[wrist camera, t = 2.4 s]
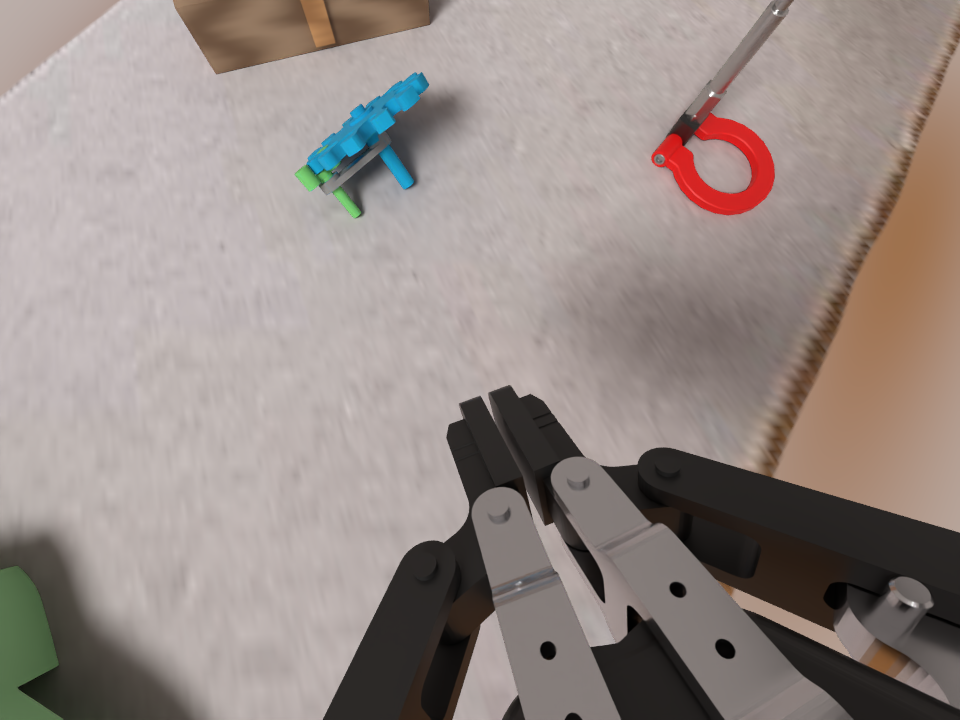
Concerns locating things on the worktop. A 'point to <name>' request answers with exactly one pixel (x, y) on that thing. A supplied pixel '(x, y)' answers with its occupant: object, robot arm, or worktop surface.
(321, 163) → the gear
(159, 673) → the worktop surface
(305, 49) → the rail
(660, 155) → the tow hook
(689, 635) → the robot arm
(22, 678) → the green elongated piece
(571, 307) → the worktop surface
